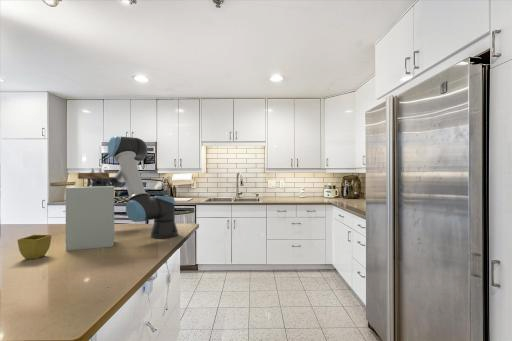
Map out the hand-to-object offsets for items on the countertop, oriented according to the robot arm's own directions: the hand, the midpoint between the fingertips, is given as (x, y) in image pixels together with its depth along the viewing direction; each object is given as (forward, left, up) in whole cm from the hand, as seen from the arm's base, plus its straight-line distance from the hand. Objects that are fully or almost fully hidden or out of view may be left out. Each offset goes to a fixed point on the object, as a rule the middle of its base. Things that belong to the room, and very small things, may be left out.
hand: (96, 170), depth 159 cm
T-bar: (0, -1, -4) cm, 4 cm away
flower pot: (+20, +29, -39) cm, 52 cm away
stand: (0, +16, -38) cm, 42 cm away
